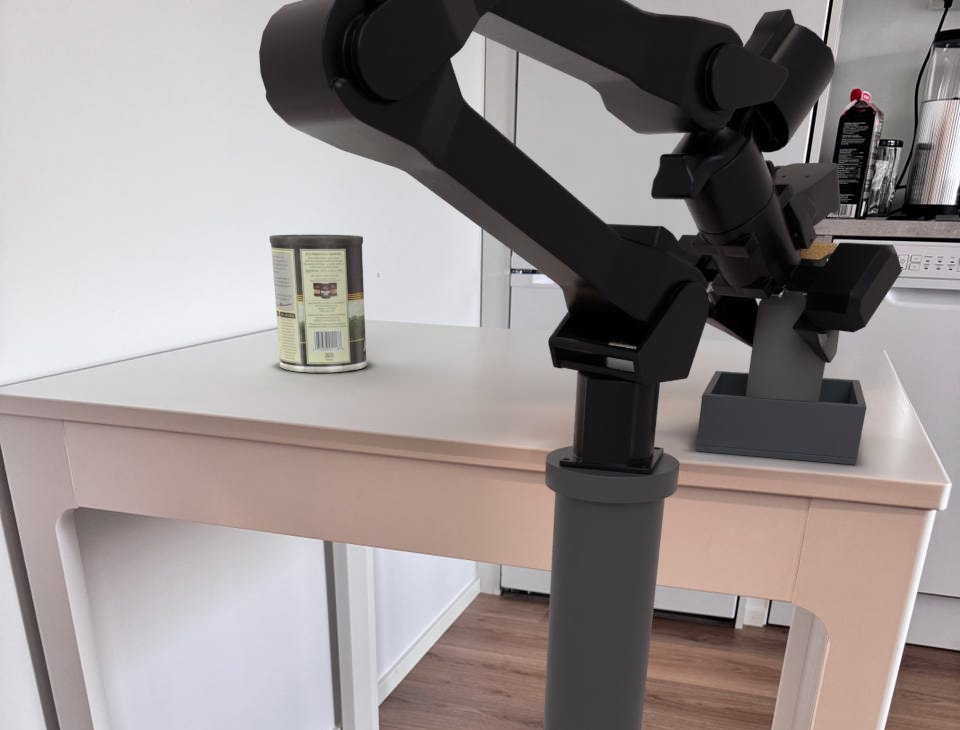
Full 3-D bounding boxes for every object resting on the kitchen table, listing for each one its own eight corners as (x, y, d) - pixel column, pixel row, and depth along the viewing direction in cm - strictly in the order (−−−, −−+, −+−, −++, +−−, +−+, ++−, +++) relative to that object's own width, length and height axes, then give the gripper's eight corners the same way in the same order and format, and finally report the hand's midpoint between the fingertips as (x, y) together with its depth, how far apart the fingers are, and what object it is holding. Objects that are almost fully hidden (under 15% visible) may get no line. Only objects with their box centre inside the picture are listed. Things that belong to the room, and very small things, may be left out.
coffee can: (334, 356, 118) (328, 233, 112) (384, 367, 111) (381, 236, 105) (261, 364, 112) (251, 234, 106) (310, 376, 105) (302, 238, 99)
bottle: (727, 434, 80) (753, 240, 73) (760, 424, 83) (788, 240, 77) (793, 446, 76) (826, 244, 70) (824, 435, 80) (858, 243, 74)
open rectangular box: (855, 465, 73) (866, 406, 71) (695, 451, 76) (702, 394, 74) (850, 431, 84) (859, 380, 82) (709, 420, 87) (715, 370, 85)
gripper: (918, 110, 61) (959, 286, 72) (690, 122, 74) (755, 270, 85) (828, 242, 60) (884, 401, 71) (612, 231, 73) (688, 367, 84)
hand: (798, 353), depth 78 cm, fingers closed on bottle, 6 cm apart
